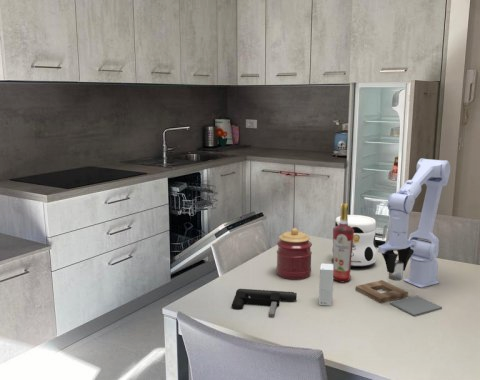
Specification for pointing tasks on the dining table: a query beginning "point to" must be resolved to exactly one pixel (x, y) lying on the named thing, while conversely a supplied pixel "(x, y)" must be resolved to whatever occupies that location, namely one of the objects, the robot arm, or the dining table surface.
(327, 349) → the dining table surface
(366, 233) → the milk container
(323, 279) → the skincare box
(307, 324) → the dining table surface
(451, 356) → the dining table surface
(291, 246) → the canister
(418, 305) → the rubber mat
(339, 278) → the liquor
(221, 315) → the dining table surface
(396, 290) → the bore plate
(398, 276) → the end cover
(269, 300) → the door handle
